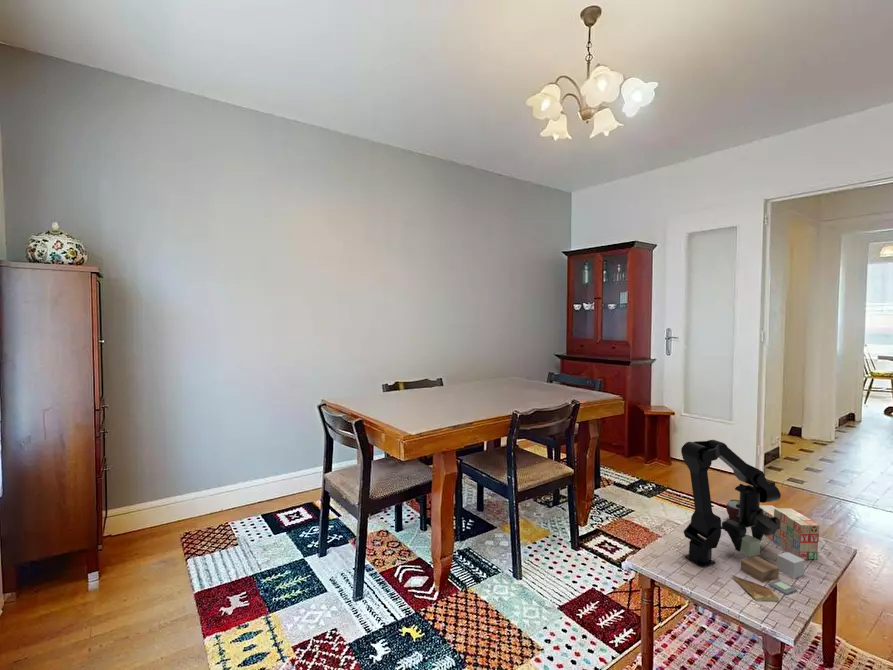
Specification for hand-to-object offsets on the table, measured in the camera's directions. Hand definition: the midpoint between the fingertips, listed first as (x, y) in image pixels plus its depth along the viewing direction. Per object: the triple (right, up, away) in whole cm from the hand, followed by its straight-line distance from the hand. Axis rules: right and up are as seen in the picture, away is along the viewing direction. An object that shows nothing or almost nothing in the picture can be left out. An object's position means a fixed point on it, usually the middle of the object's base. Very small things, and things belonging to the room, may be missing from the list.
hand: (747, 548), depth 152 cm
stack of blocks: (+17, -2, +6) cm, 18 cm away
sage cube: (0, -1, 0) cm, 1 cm away
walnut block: (-5, -2, -13) cm, 14 cm away
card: (-3, -2, -20) cm, 20 cm away
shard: (-13, -3, -22) cm, 25 cm away
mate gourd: (+11, 0, +21) cm, 24 cm away
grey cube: (+6, -2, -12) cm, 13 cm away
